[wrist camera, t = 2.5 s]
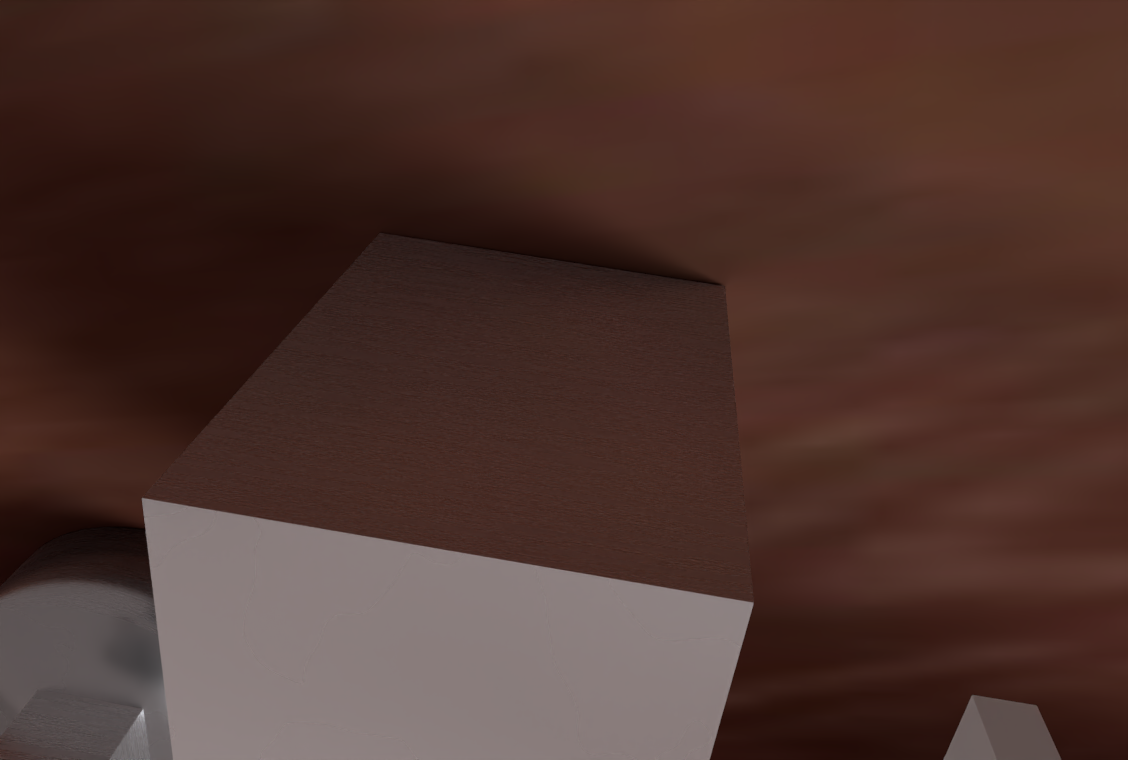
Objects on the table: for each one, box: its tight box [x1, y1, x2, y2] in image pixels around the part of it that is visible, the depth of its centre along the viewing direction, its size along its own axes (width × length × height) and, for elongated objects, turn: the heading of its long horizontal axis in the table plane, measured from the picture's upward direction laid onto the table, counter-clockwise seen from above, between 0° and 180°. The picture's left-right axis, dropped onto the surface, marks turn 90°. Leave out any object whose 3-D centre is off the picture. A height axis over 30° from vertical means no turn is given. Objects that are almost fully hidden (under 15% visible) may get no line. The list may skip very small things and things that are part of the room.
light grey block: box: [142, 233, 754, 760], centre depth 14 cm, size 6×6×8 cm
